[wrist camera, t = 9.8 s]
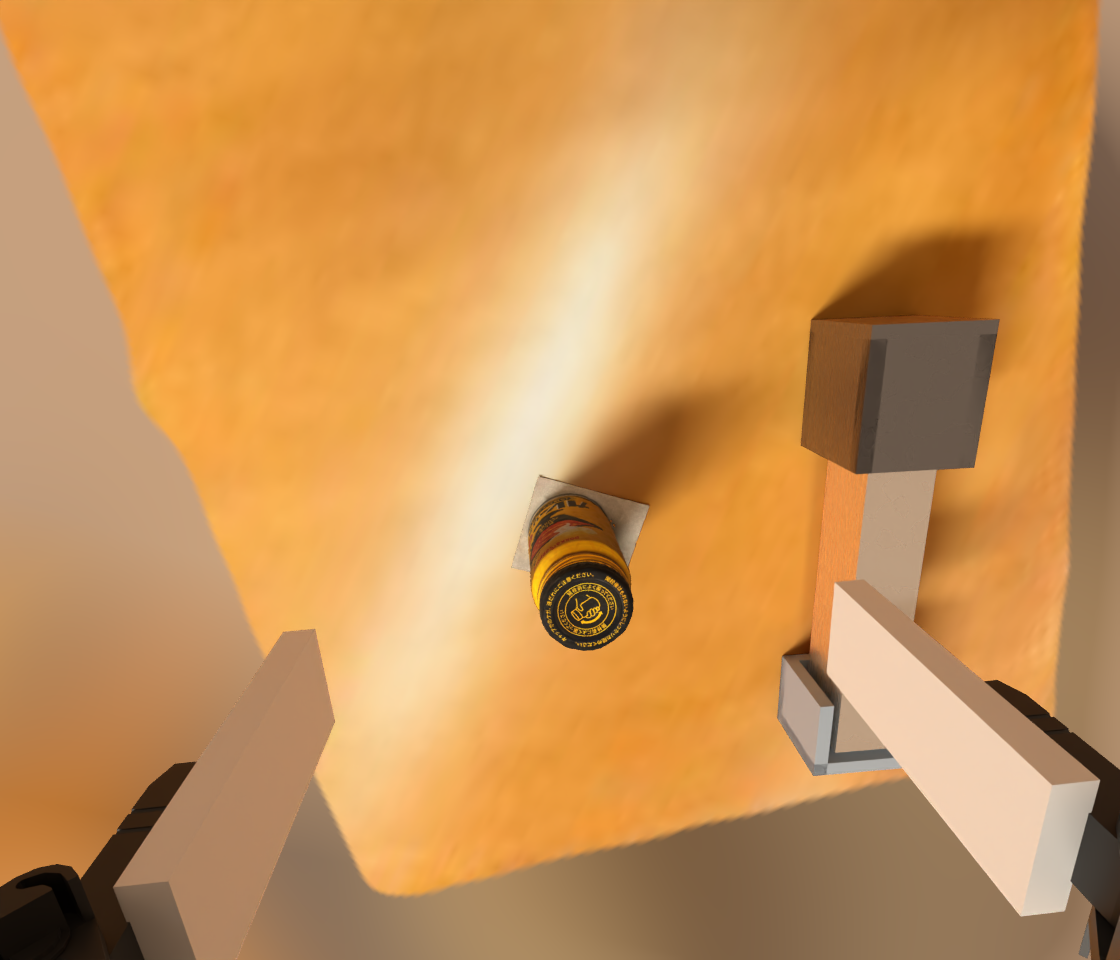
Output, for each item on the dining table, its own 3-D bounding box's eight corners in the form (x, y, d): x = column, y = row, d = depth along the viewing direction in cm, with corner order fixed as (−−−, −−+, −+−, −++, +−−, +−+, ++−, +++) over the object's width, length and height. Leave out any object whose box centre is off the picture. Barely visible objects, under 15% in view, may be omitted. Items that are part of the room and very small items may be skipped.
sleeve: (811, 319, 41) (872, 325, 34) (917, 315, 42) (999, 319, 35) (800, 445, 44) (855, 474, 37) (900, 439, 44) (974, 467, 37)
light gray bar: (829, 445, 43) (906, 482, 34) (891, 441, 43) (982, 477, 35) (804, 708, 49) (863, 793, 41) (857, 704, 49) (928, 787, 41)
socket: (782, 655, 49) (820, 707, 43) (874, 648, 49) (925, 698, 43) (777, 718, 51) (813, 775, 45) (866, 710, 51) (913, 767, 45)
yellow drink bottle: (537, 475, 43) (546, 541, 32) (649, 504, 44) (695, 577, 33) (511, 566, 45) (509, 658, 34) (618, 591, 46) (652, 689, 35)
